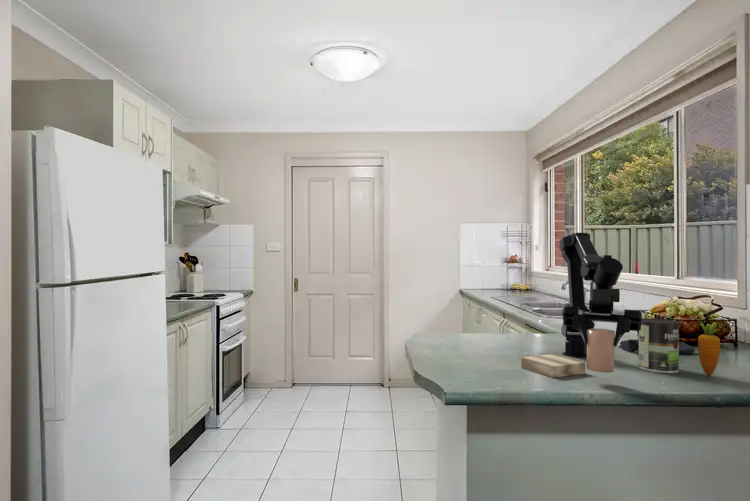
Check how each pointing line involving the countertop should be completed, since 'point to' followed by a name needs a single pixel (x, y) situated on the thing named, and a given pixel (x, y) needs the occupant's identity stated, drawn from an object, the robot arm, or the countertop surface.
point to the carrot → (709, 348)
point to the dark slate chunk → (634, 347)
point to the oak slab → (553, 365)
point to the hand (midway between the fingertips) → (600, 344)
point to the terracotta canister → (600, 350)
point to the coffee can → (659, 346)
